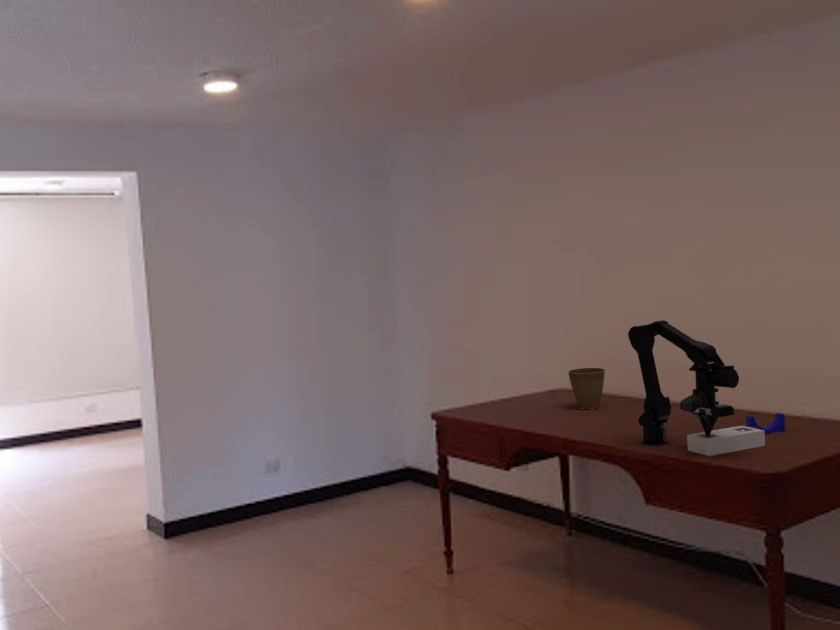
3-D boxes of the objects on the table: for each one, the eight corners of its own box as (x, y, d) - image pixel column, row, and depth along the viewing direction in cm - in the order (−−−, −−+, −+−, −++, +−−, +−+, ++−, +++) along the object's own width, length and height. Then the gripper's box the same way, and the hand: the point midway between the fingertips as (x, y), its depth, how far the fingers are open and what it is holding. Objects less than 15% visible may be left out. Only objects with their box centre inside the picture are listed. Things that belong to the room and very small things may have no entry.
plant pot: (576, 404, 368) (574, 367, 367) (610, 405, 361) (608, 367, 360) (565, 411, 355) (563, 372, 354) (601, 412, 348) (599, 372, 347)
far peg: (734, 443, 277) (733, 429, 276) (744, 441, 278) (743, 427, 278) (743, 445, 273) (742, 431, 273) (753, 443, 274) (752, 429, 274)
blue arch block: (752, 435, 289) (752, 418, 288) (746, 433, 293) (746, 415, 293) (787, 432, 290) (786, 415, 289) (780, 430, 294) (780, 412, 294)
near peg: (699, 449, 271) (698, 434, 271) (709, 447, 273) (708, 432, 273) (707, 451, 268) (707, 436, 267) (718, 449, 269) (717, 434, 269)
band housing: (687, 450, 274) (687, 434, 273) (742, 440, 282) (741, 425, 281) (709, 456, 264) (708, 440, 264) (765, 446, 272) (764, 430, 272)
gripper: (665, 385, 275) (667, 433, 276) (704, 392, 257) (707, 443, 258) (693, 381, 279) (695, 428, 280) (734, 387, 262) (736, 438, 263)
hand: (707, 434), depth 270 cm, fingers closed, pressing on near peg
